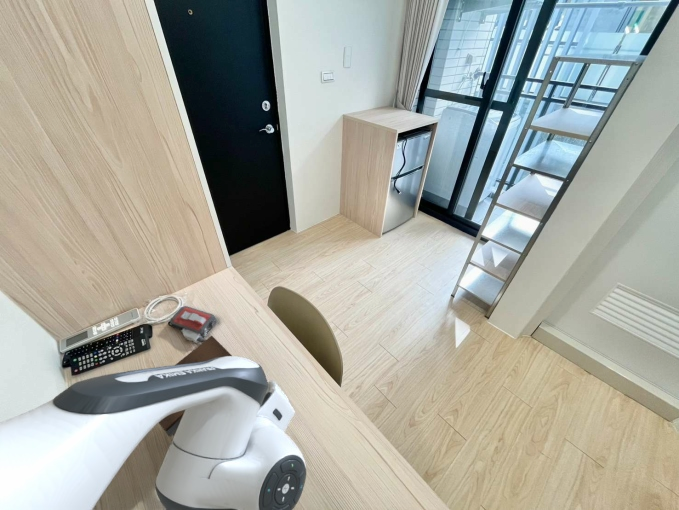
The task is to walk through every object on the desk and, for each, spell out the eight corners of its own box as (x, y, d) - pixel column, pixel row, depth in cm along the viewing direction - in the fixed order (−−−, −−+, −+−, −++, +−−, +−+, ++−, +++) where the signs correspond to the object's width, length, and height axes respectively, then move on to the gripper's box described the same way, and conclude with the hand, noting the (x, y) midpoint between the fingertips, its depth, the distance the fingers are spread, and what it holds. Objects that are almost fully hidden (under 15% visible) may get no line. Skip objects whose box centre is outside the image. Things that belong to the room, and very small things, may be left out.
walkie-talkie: (164, 332, 80) (221, 352, 75) (157, 324, 77) (216, 345, 72) (185, 308, 86) (239, 326, 81) (179, 300, 83) (235, 318, 78)
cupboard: (200, 453, 59) (167, 435, 48) (174, 417, 64) (139, 393, 53) (258, 392, 68) (241, 365, 57) (231, 365, 73) (211, 335, 62)
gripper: (207, 519, 41) (196, 476, 52) (301, 405, 53) (275, 390, 64) (180, 492, 40) (175, 454, 51) (282, 381, 52) (259, 370, 63)
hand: (231, 418), depth 58 cm, fingers closed
